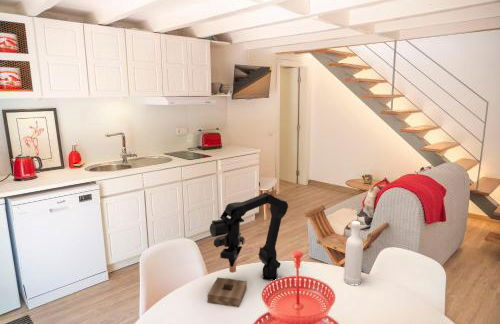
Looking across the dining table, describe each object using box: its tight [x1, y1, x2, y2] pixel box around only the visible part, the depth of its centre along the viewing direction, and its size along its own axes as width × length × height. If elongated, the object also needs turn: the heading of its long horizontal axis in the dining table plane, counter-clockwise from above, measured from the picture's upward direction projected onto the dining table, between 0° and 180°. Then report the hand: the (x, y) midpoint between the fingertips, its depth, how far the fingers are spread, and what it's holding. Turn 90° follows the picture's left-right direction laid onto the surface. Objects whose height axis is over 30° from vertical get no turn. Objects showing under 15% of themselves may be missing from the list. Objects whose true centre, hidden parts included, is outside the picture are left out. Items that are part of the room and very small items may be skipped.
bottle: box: [343, 220, 364, 286], centre depth 157 cm, size 8×8×30 cm
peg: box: [228, 260, 237, 274], centre depth 150 cm, size 3×3×10 cm
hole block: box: [206, 276, 248, 308], centre depth 147 cm, size 14×14×4 cm
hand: (232, 264), depth 150 cm, fingers closed on peg, 3 cm apart
